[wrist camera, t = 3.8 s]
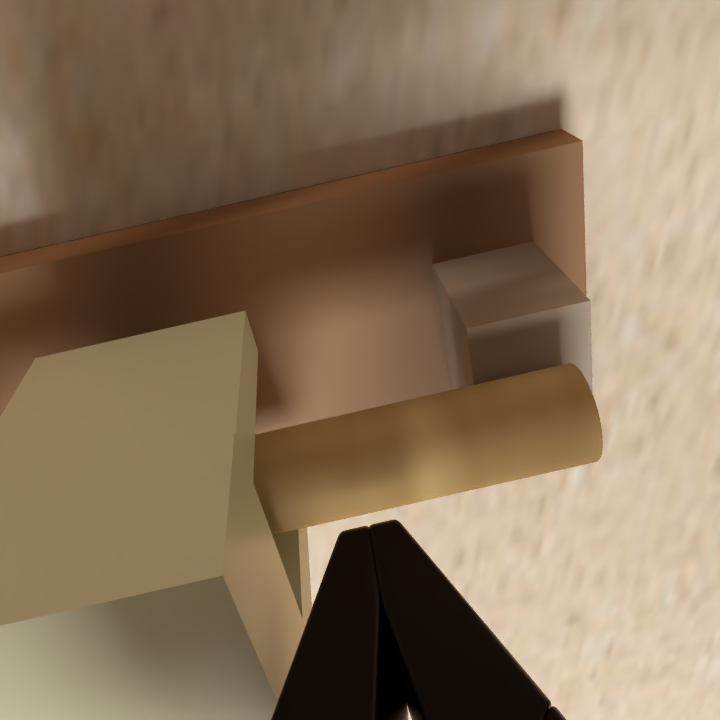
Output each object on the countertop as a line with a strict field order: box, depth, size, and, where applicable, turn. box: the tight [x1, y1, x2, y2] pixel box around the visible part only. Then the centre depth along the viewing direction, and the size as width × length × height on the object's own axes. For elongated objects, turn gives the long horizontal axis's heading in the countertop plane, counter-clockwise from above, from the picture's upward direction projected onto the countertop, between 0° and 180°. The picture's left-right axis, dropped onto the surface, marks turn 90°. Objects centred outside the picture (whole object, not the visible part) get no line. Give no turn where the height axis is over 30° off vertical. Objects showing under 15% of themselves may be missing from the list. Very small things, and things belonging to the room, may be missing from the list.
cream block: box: [0, 311, 312, 720], centre depth 10 cm, size 4×4×6 cm
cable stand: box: [0, 129, 603, 535], centre depth 12 cm, size 17×6×6 cm, turn 101°
